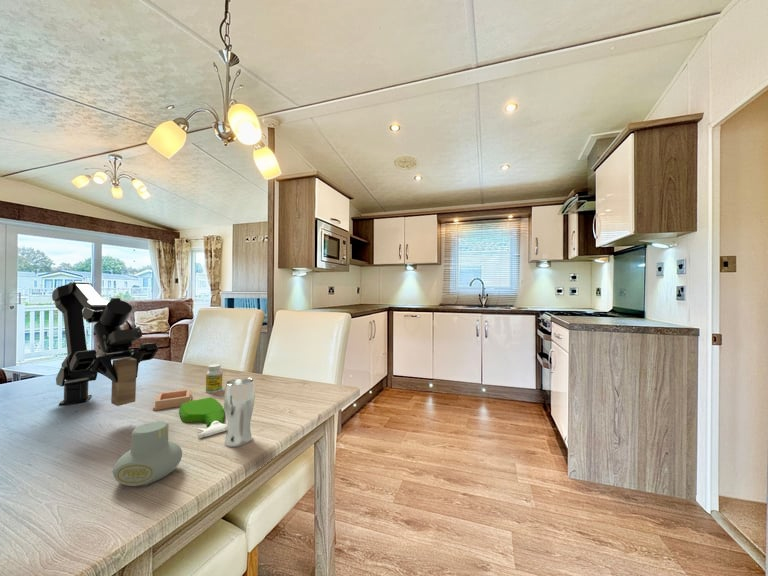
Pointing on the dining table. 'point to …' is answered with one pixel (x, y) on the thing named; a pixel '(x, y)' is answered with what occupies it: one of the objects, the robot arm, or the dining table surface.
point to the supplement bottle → (214, 379)
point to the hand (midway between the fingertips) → (126, 379)
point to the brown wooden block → (124, 381)
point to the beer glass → (238, 410)
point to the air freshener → (148, 456)
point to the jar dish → (172, 399)
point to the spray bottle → (204, 415)
